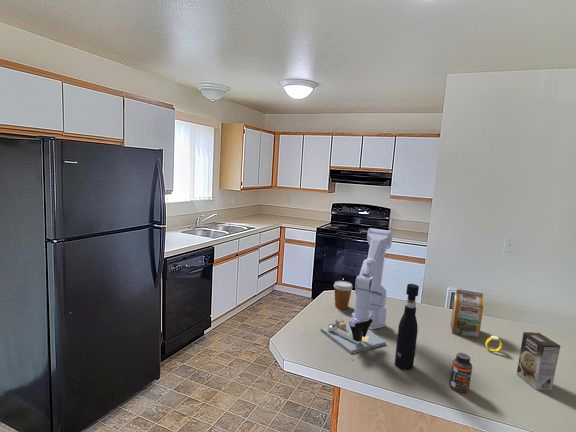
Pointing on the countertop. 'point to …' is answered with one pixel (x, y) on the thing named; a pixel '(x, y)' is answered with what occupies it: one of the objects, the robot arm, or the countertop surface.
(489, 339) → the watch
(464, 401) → the countertop surface
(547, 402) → the countertop surface
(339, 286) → the disposable coffee cup
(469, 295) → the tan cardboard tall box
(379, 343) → the base
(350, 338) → the lever
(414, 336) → the black water bottle
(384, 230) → the robot arm
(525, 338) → the brown food box
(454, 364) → the supplement bottle
